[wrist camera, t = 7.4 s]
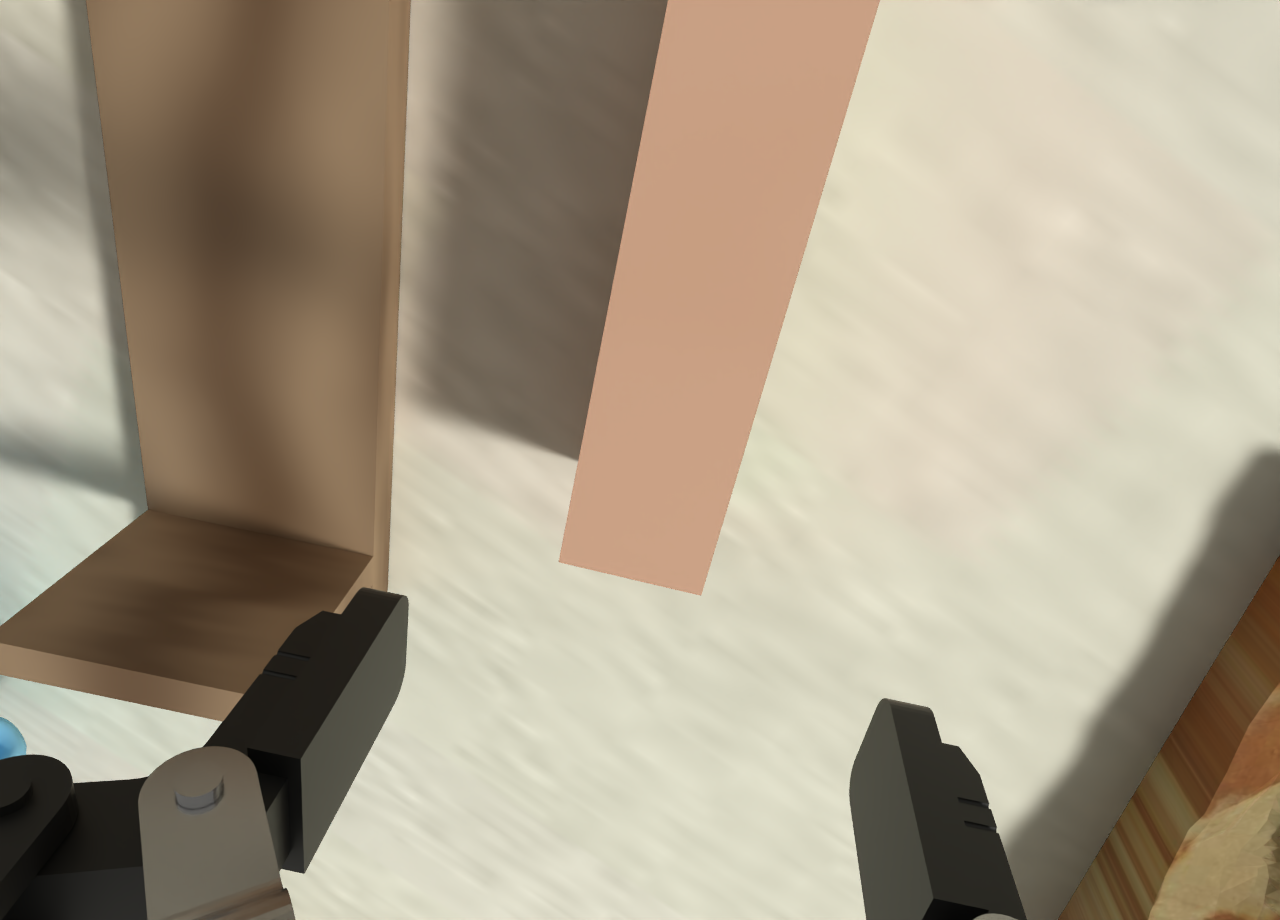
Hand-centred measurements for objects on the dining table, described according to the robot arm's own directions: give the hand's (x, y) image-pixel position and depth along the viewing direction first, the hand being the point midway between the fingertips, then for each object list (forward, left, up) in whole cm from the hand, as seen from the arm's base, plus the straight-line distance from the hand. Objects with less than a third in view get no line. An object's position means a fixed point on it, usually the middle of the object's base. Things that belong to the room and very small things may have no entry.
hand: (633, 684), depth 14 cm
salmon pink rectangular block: (0, -4, -14) cm, 15 cm away
